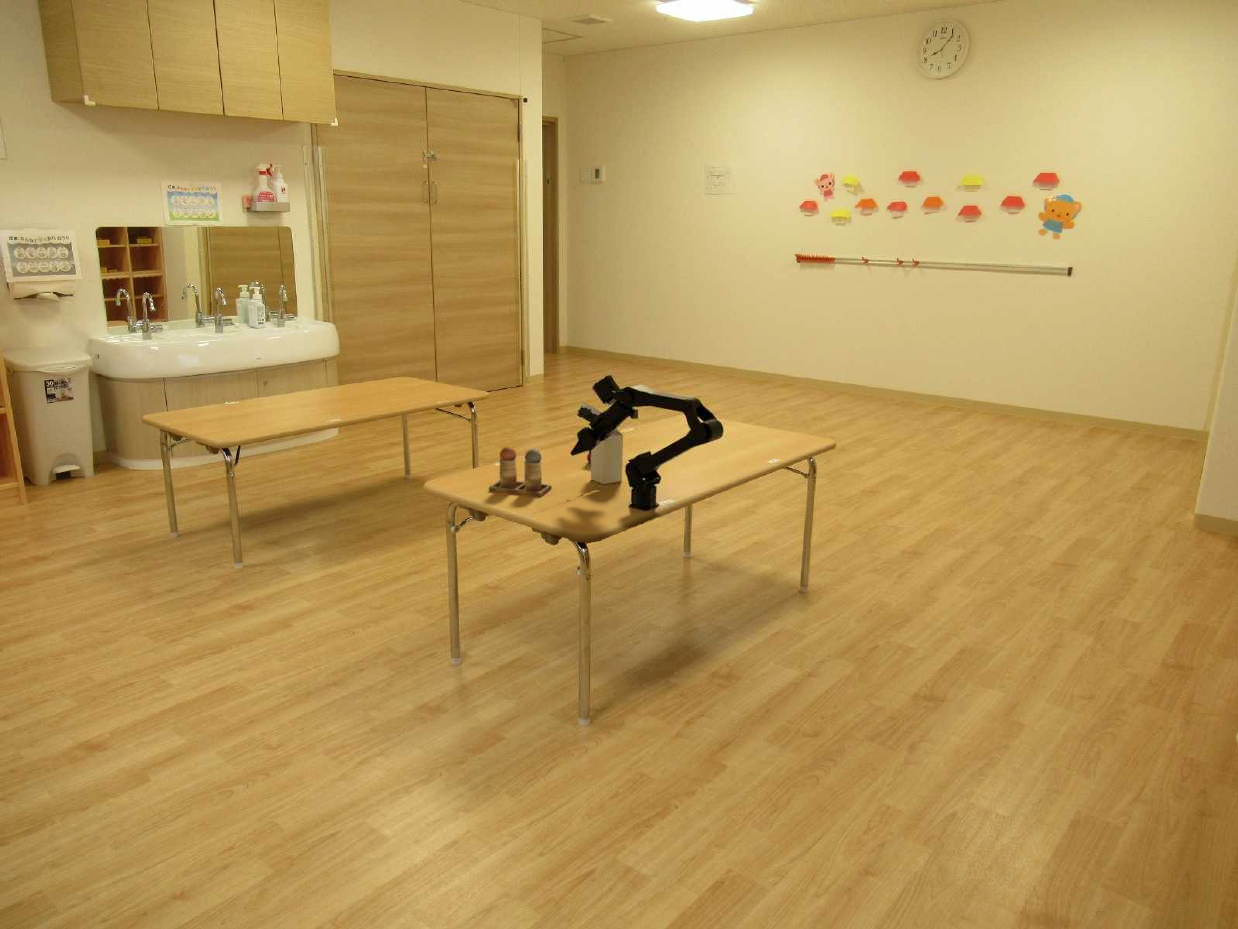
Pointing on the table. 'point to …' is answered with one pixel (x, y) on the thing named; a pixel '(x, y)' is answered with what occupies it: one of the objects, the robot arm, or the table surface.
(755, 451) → the table surface
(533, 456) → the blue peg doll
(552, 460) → the table surface
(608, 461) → the milk carton
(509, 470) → the red peg doll
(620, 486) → the table surface
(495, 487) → the doll tray
